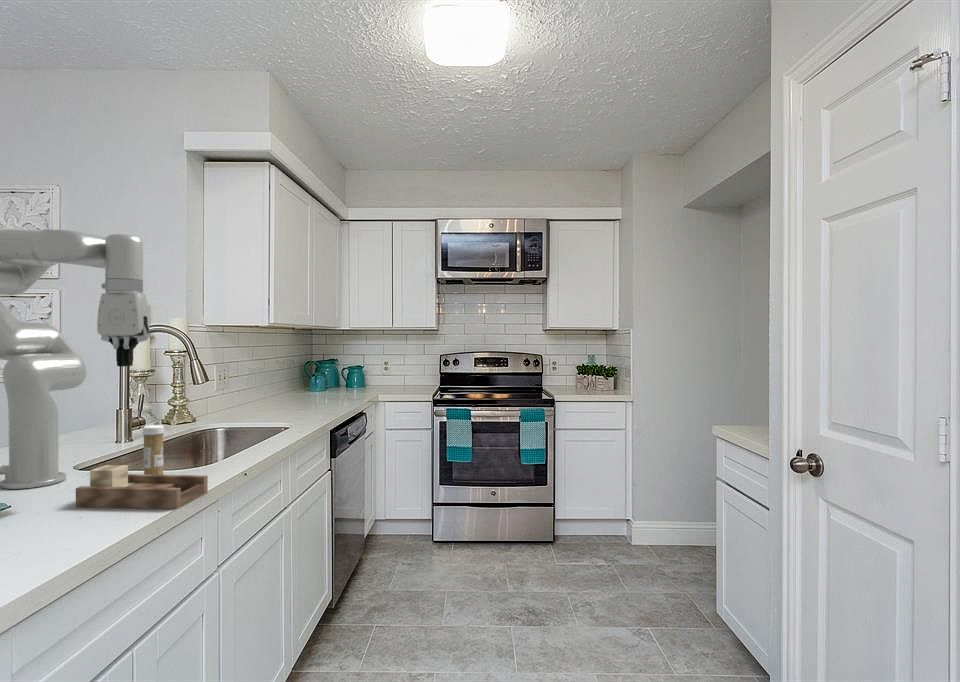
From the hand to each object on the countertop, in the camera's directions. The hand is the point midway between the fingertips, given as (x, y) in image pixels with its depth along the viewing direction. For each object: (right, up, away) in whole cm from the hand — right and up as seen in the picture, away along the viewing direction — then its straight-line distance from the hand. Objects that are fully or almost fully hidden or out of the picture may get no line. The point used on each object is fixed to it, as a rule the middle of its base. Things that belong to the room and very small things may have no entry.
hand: (124, 365), depth 132 cm
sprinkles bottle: (+1, -29, +9) cm, 31 cm away
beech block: (+2, -27, -8) cm, 28 cm away
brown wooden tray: (+10, -29, -8) cm, 32 cm away
